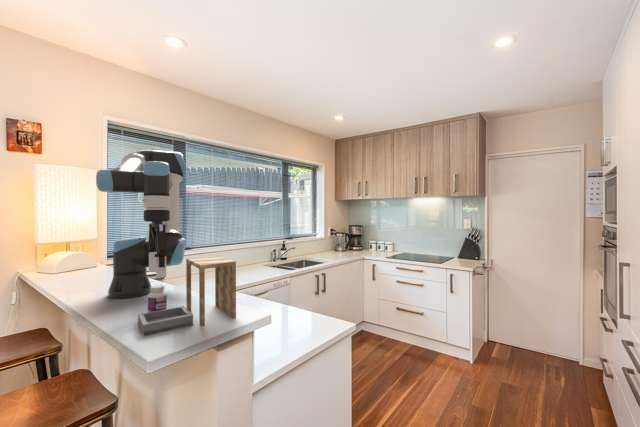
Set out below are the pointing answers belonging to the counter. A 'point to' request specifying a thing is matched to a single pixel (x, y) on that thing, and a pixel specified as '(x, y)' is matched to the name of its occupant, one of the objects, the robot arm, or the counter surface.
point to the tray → (164, 320)
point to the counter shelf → (223, 284)
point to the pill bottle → (157, 298)
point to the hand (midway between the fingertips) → (157, 274)
